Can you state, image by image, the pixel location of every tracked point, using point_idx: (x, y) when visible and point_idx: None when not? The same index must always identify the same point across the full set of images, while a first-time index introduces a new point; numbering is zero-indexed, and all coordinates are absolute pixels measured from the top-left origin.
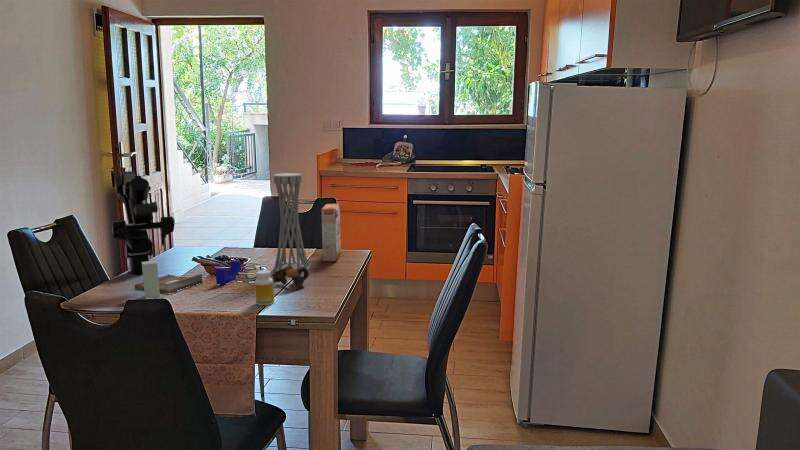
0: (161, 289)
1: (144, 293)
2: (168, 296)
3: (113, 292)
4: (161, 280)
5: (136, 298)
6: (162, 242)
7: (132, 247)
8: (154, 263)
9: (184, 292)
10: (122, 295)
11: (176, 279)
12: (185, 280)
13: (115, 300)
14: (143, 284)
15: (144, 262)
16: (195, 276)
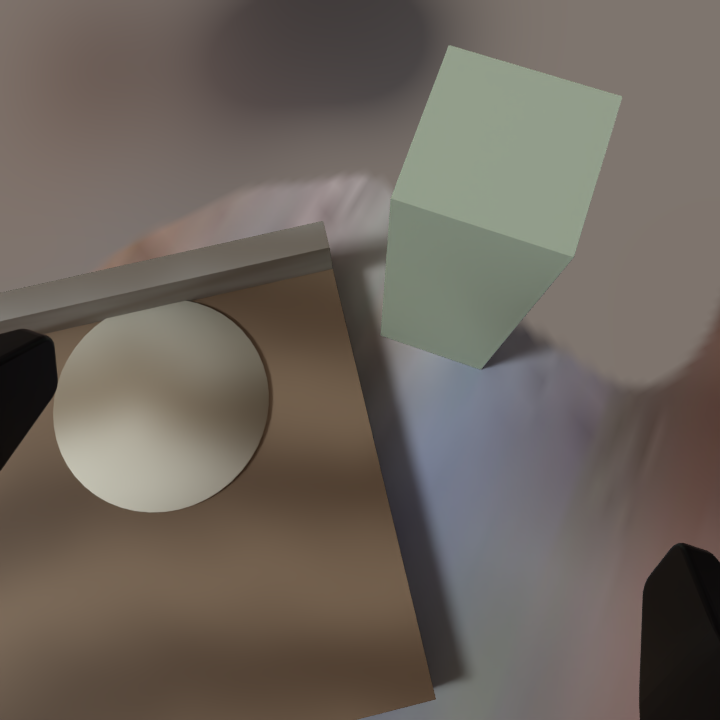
0: (346, 330)
1: (484, 363)
2: (362, 209)
3: (634, 712)
4: (184, 629)
5: (558, 351)
6: (15, 352)
7: (699, 550)
8: (479, 57)
9: (226, 212)
10: (608, 535)
11: (76, 538)
12: (130, 268)
13: (703, 432)
14: (375, 627)
15: (557, 194)
16: (1, 293)
